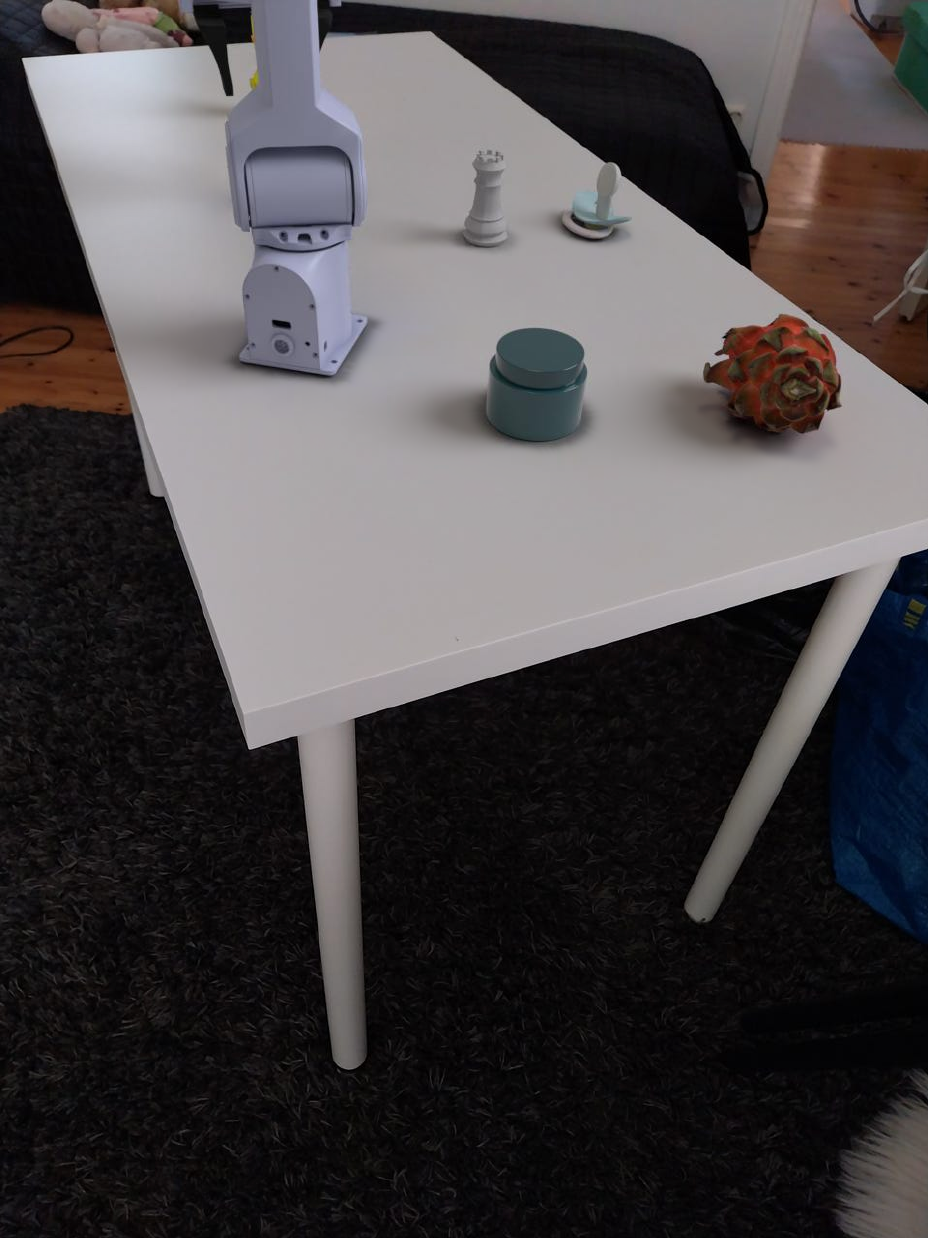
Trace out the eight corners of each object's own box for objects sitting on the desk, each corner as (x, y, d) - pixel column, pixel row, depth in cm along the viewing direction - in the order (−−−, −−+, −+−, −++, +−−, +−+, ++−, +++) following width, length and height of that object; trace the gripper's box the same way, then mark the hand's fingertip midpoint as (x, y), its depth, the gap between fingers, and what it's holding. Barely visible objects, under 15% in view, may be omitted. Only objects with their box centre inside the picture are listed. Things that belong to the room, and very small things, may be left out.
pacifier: (585, 248, 95) (636, 237, 97) (592, 183, 91) (646, 173, 93) (549, 219, 100) (599, 210, 102) (554, 156, 95) (606, 147, 97)
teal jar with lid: (573, 448, 70) (583, 381, 66) (477, 432, 71) (481, 365, 67) (586, 397, 75) (596, 332, 71) (496, 383, 76) (501, 318, 72)
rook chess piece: (503, 250, 94) (509, 164, 88) (458, 244, 94) (461, 159, 89) (510, 232, 97) (517, 148, 91) (467, 226, 97) (471, 142, 92)
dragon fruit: (797, 483, 71) (709, 418, 80) (890, 405, 70) (791, 348, 79) (755, 407, 65) (666, 346, 75) (856, 321, 64) (753, 270, 73)
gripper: (326, -94, 87) (331, 66, 98) (162, -91, 83) (186, 75, 94) (344, -67, 83) (348, 97, 94) (172, -62, 79) (196, 108, 90)
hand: (268, 88), depth 94 cm, fingers open, 7 cm apart
